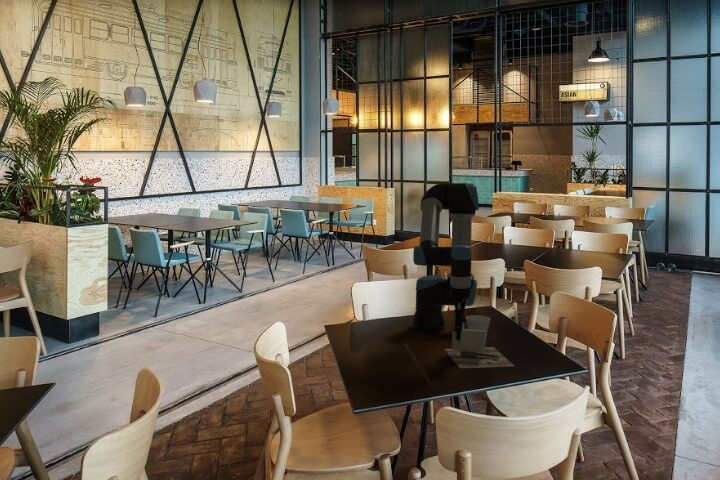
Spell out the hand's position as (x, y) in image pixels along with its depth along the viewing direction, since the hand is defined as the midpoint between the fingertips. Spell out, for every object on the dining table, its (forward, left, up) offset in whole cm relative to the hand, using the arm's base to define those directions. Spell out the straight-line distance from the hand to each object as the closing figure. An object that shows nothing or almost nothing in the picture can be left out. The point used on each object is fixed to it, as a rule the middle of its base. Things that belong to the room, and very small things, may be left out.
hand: (459, 343), depth 224 cm
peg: (+2, +5, -5) cm, 7 cm away
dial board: (+3, +6, -6) cm, 9 cm away
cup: (-16, +12, -6) cm, 21 cm away
